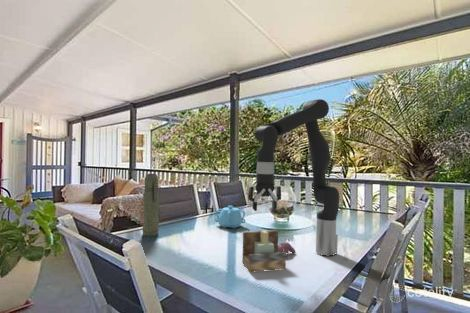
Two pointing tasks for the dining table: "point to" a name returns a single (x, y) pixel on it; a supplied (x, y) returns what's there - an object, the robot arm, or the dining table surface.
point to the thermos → (151, 206)
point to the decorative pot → (230, 217)
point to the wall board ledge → (263, 259)
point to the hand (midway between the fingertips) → (264, 210)
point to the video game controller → (286, 248)
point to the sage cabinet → (263, 244)
